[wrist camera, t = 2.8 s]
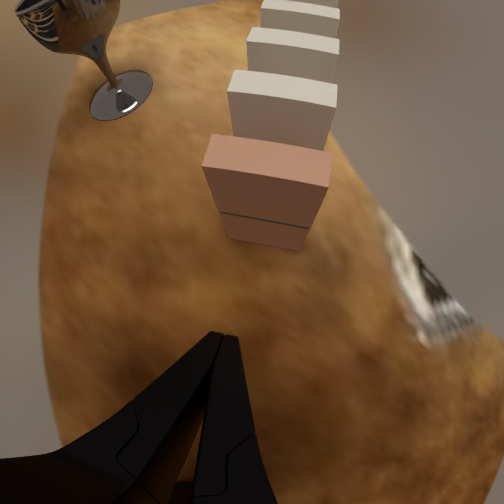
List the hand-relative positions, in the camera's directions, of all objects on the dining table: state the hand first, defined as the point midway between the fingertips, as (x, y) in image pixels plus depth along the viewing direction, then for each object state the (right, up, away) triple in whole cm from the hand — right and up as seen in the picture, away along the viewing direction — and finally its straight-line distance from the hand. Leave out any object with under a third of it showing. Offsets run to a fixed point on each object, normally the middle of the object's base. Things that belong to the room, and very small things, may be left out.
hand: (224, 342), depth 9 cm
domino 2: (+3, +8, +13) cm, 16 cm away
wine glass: (-12, +19, +17) cm, 28 cm away
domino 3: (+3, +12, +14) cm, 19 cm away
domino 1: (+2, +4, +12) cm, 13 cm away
